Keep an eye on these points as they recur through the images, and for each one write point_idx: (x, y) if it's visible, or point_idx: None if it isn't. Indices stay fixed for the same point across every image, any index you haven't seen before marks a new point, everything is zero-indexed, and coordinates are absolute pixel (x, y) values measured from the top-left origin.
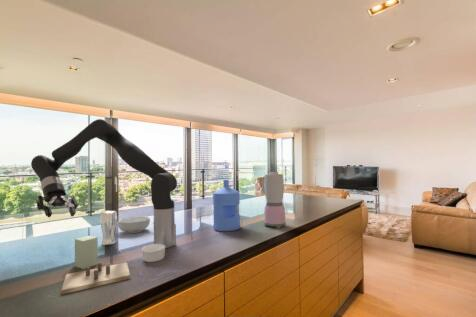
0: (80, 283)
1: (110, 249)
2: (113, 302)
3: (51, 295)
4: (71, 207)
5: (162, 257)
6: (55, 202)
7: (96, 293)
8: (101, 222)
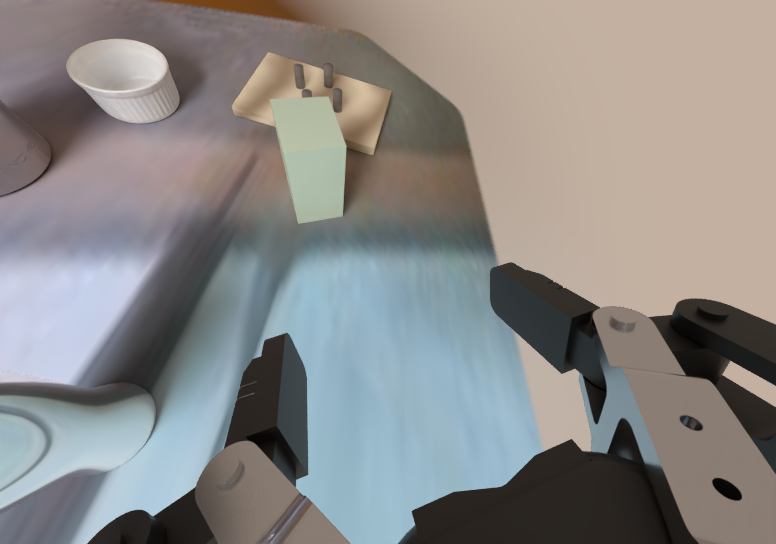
0: (358, 89)
1: (177, 295)
2: (329, 28)
3: (403, 108)
4: (277, 414)
5: (130, 74)
6: (585, 462)
7: (341, 63)
8: (26, 431)
